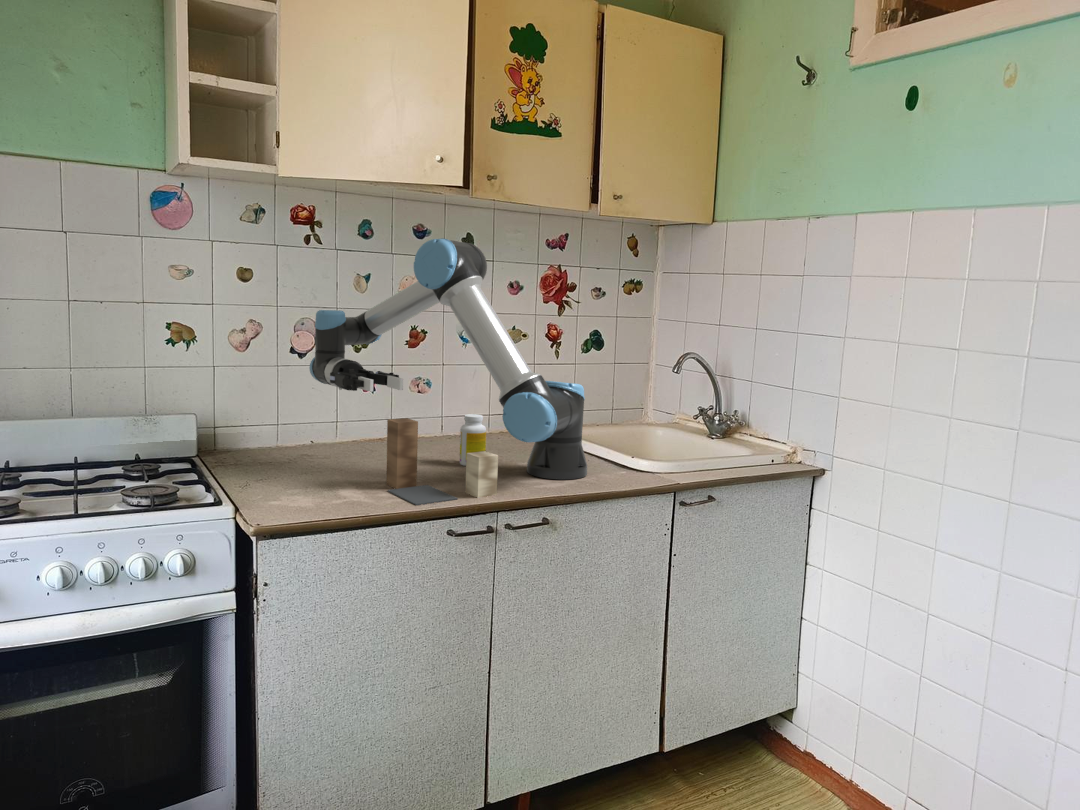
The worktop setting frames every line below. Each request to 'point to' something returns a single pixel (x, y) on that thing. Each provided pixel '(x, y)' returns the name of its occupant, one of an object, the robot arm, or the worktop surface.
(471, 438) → the supplement bottle
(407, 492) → the mat
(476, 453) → the birch block
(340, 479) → the worktop surface
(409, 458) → the walnut block
